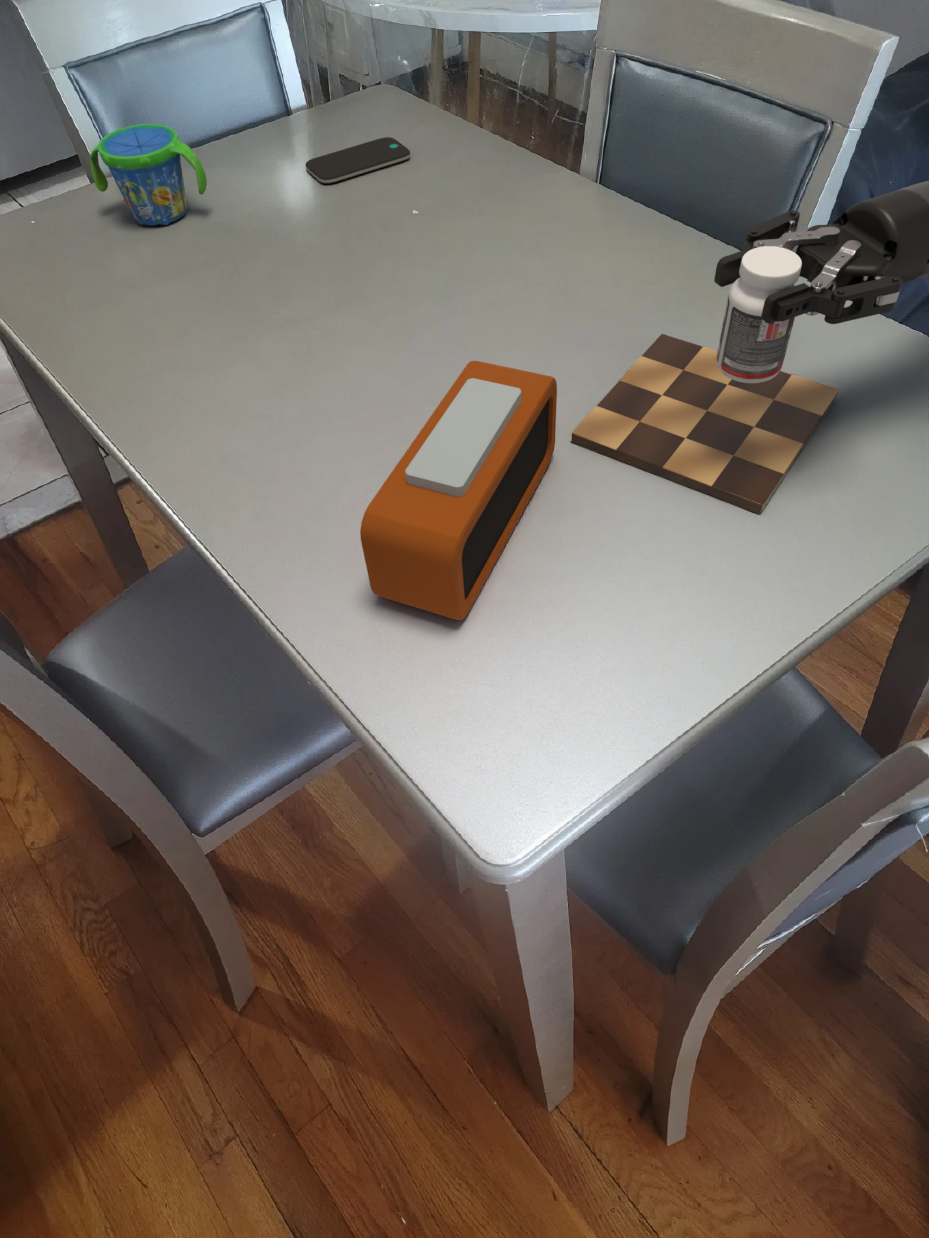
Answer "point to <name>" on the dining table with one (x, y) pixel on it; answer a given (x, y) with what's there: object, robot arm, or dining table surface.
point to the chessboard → (706, 423)
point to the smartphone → (357, 160)
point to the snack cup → (147, 171)
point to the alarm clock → (460, 489)
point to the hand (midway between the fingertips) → (742, 292)
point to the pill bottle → (757, 316)
